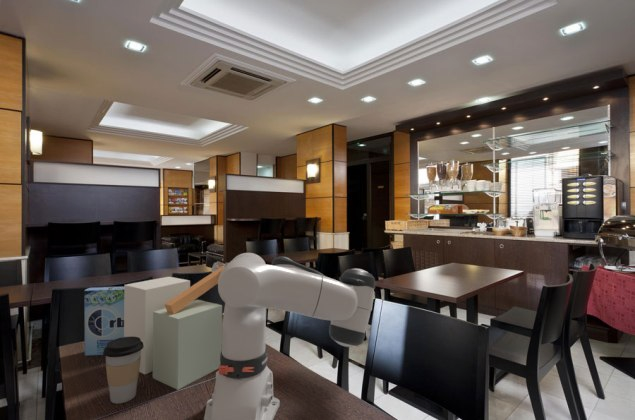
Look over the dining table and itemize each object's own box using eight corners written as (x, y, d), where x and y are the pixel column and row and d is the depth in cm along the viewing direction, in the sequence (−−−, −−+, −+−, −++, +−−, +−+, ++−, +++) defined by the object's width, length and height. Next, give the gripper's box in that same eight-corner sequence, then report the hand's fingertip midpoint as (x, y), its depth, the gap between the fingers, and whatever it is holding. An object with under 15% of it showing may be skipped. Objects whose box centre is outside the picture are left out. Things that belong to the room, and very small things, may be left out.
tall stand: (168, 347, 121) (168, 276, 121) (189, 355, 115) (190, 280, 115) (123, 364, 108) (124, 284, 108) (144, 374, 101) (145, 289, 101)
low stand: (196, 357, 113) (197, 299, 113) (221, 367, 107) (222, 305, 107) (152, 378, 99) (153, 311, 99) (177, 389, 93) (178, 319, 93)
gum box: (148, 347, 121) (149, 285, 121) (143, 353, 116) (144, 288, 116) (91, 350, 118) (91, 286, 118) (83, 356, 113) (83, 289, 113)
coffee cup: (117, 387, 94) (117, 334, 94) (150, 388, 94) (150, 335, 94) (94, 407, 84) (94, 349, 84) (130, 408, 84) (130, 349, 84)
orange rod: (229, 270, 119) (227, 262, 118) (235, 271, 118) (233, 263, 117) (167, 312, 99) (164, 304, 98) (173, 314, 97) (170, 305, 96)
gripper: (264, 290, 118) (240, 276, 107) (224, 282, 128) (198, 269, 118) (270, 273, 120) (247, 258, 110) (230, 267, 131) (206, 253, 121)
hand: (221, 264), depth 114 cm, fingers closed on orange rod, 3 cm apart
